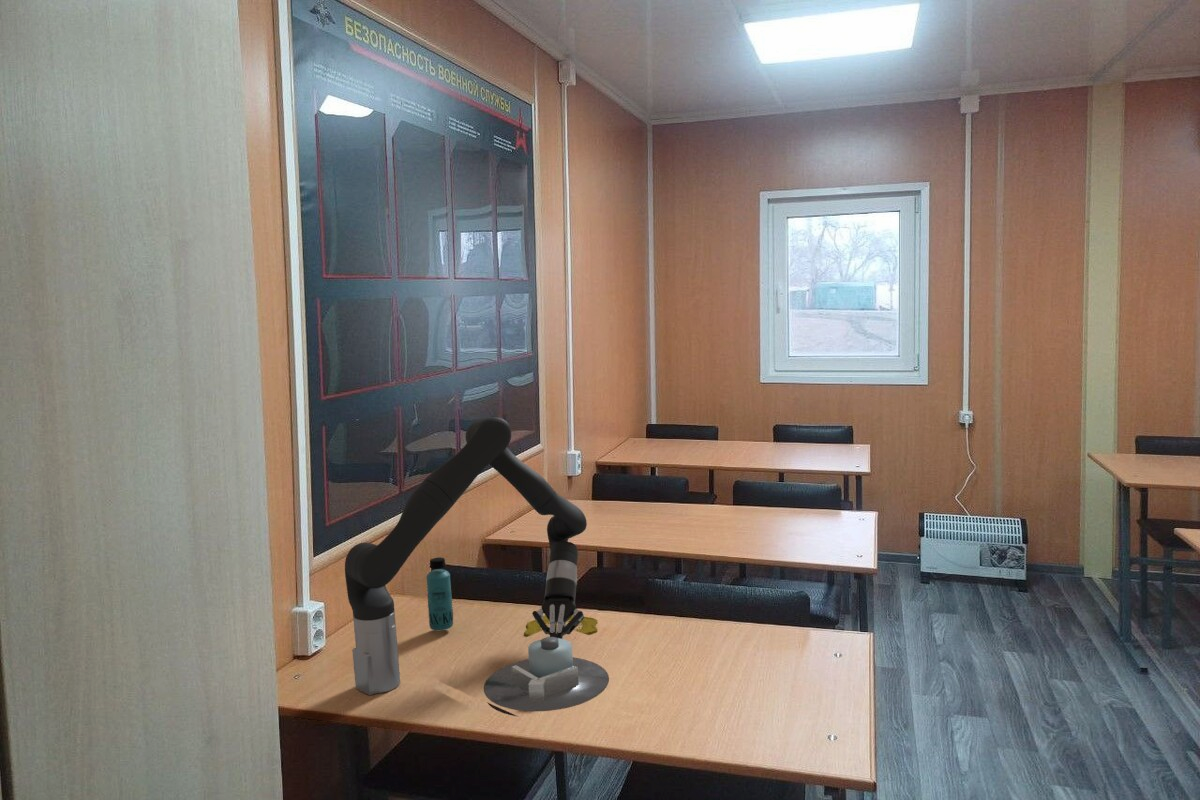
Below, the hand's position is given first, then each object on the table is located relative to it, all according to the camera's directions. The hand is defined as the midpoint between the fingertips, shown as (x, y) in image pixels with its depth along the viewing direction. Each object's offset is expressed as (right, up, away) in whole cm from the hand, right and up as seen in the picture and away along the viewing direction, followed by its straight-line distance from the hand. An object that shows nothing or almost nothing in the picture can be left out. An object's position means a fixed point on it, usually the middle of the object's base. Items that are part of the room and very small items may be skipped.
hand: (554, 650), depth 209 cm
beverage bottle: (-31, -3, +27) cm, 42 cm away
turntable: (-1, -6, -10) cm, 12 cm away
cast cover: (-1, -3, -5) cm, 6 cm away
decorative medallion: (0, -2, +26) cm, 26 cm away
